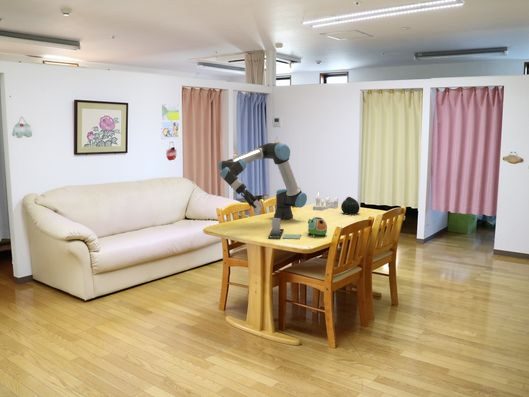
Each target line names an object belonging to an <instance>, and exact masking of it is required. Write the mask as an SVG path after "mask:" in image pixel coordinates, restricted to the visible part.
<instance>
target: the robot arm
mask: <svg viewBox="0 0 529 397" xmlns="http://www.w3.org/2000/svg"><path fill="white" fill-rule="evenodd" d="M290 156H291V150H290V147H289V146H288V145H287V144H286V143H281V142H279V143H276V142H273V143H272V142H268V143H264V144H261V145H259V146H256V147H255V148H254V149H253V150H251V151H247V152H245V153H243V154H242V153H241V155H237V156H234V157H233V158H230V159H227V160H220V161H219V162H218V164H217V167H218V169H219V171H220V172H219V176H220V178H222V180H224V181H225V182H226V183H227V185H229V187H230V189H232V190H234V191H235V193H236V194H238V195H241V196H242V198H243V199H244V200H245V201H246V203H247V204H248V206H249V207H251V208H253V209H254V211H256V213H259V212H260V211H261V210H262V209H263V207H264V205H263V204H262V203H261V202H260V201H259V200H258V197H256V196H255V195H253V193H251V192H250V191H249V190H248V189H247V185H245V184H244V183H243V181H242V180H241V179H240V178H239V177H238V176H239V175H240V174H241V173H242V172H244V171H245V169H246V168H247V167H248V166H247V165H248V164H250V163H253V162H255V161H258V160H259V161H261V160H264V159H270V160H273V163H274V164H275V165H276V166H277V167H278V170H279V174H280V175H281V178H282V181H283V184H284V186H285V188H281V189H277V190H276V194H275V200H276V201H275V202H276V203H275V204H276V205H275V206H276V209H275V212H274V214H273V218H280V221H281V220H284V221H285V220H287V221H288V220H292V219H294V215H293V212H292V207H293V208H299V209H300V208H303V207H305V205H306V204H307V201H308V196H307V194H306V193H305V192H302V189H301V187H299V186H298V184H297V181H296V178H295V176H294V173H293V170H292V168H291V164H290V162H289V160H290Z"/></svg>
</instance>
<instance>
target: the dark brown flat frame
mask: <svg viewBox="0 0 529 397" xmlns="http://www.w3.org/2000/svg"><path fill="white" fill-rule="evenodd" d="M284 231H285V230H284V228H280V234H272V229H271V230H270V233H269V235H268V237H267V240H281V239H282V236H283V235H284ZM270 236H271V237H270Z"/></svg>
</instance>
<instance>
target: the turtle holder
mask: <svg viewBox="0 0 529 397" xmlns="http://www.w3.org/2000/svg"><path fill="white" fill-rule="evenodd" d="M307 224H308V226H307V227H308V229H307V232H308V233H307V235H308V236H311V235H312V238H315V237H316V235H319V236H321V235H323V236H324V237H325V236H326V237H327V233H328V225H327V222H326V221H325V219H324V218H323V217H318V216H315V217H312V218H309V219H308V220H307Z"/></svg>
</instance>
